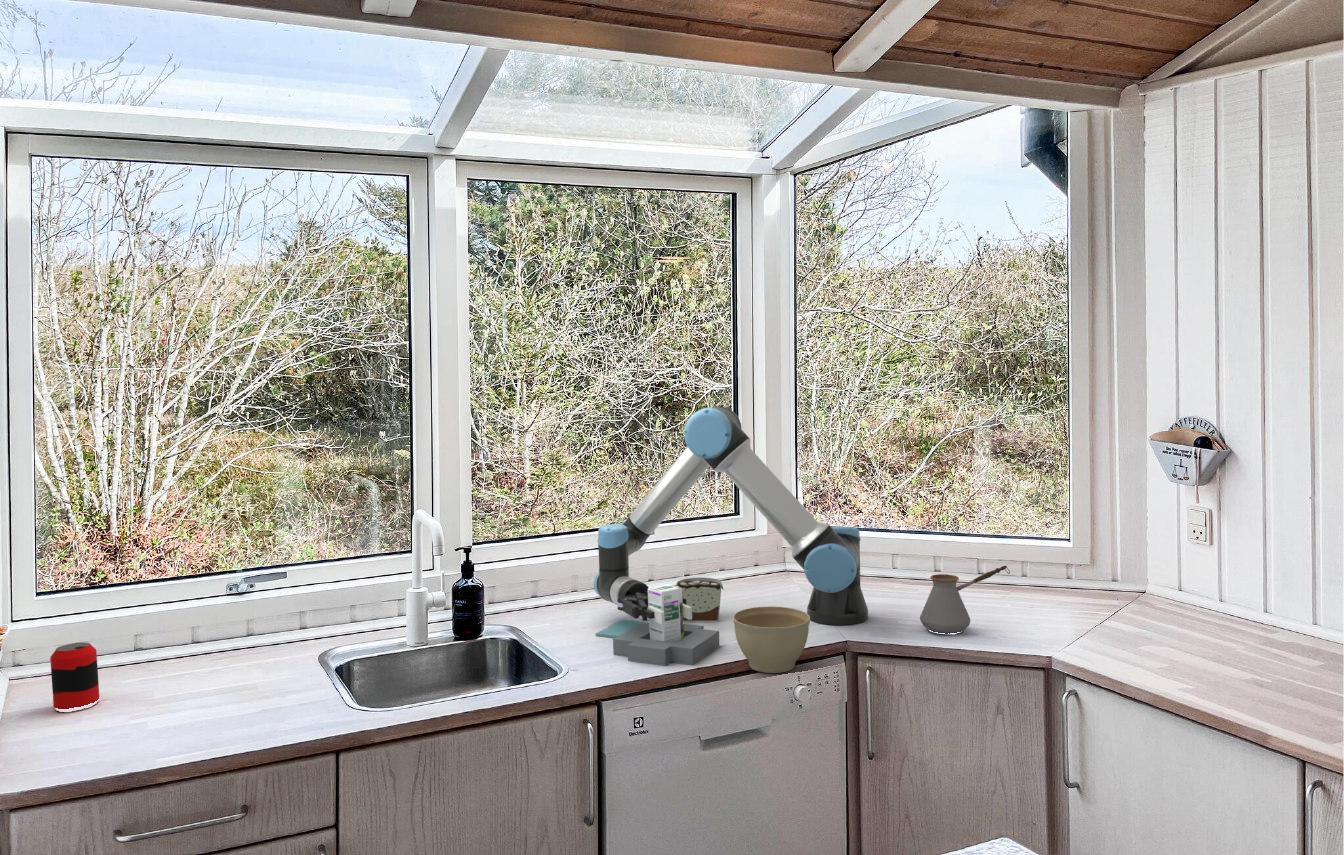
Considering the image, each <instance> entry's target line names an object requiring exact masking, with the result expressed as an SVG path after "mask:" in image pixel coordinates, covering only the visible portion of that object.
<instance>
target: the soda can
mask: <svg viewBox="0 0 1344 855" xmlns="http://www.w3.org/2000/svg"><path fill="white" fill-rule="evenodd" d="M97 653H98V652H97V649H96V648H95V647H94V646H93V645H92V644H91V643H90V642H87V641H86V642H83V641H82V642H74V643H68V644H64V645H63V644H62V645H61V646H58V647H56V648H55V650H54V651H53V652H52V654H51V656H50V657H49V658H50V671H51V673H50V674H51V675H50V676H51V687H52V701H53V702H52V704H53V708H54V707H55V708H58V709H69V708H74V707H81V706H84V705H88V704H90V703H94V702H95V701H97V700H98V699H99V697H100V685H99V684H100V683H99V669H98V654H97Z"/></svg>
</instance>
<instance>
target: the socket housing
mask: <svg viewBox="0 0 1344 855" xmlns="http://www.w3.org/2000/svg"><path fill="white" fill-rule="evenodd" d="M683 626H684V638H683V639H681V640H680V641H678V642H676V643H673V642H664V641H656V640H650V628H649V622H648V623H642V624H640V625H638V626H636V627H634V628H633V629H631V630H629V631H627V632H625V633H623V634H622V635H620V636H618V637H616V638H612V645H613V647H612V648H613V655H614V656H621V655H623V656H622V657H627V661H628V662H634V661H635V663H643V664H649V665H656V664H657V666H664V665H666V666H667V665H669V664H670V663H676V664H683V665H689V666H693V665H695V664H696V663H698V662H699V661H700V660H702V659H703V658H704V657H706V656H708V655H709V654H710V653H712V652H713V651H714V650H716V649H718V648H719V647H720V630H715V629H714V630H713V629H705V628H704V625H700V624H693V623H692V624H690V623H683ZM651 663H652V664H651ZM668 663H669V664H668Z"/></svg>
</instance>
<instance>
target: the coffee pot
mask: <svg viewBox="0 0 1344 855" xmlns="http://www.w3.org/2000/svg"><path fill="white" fill-rule="evenodd" d="M1004 570H1005V572H1006V573H1007V574H1011V570H1010V569H1009V568H1008V566H1007V565H1002V566H1000V567H996V568H995V569H994V570H991V571H987V572H985V573H983V574H982V575H979V576H977V577H976V578H974V579H972V580H969V581H968V582H965V583H963V584H961V585H957V582H958V581H959V579H960V577H959V576H957V575H954V574H948V573H947V574H946V573H945V574H943V573H942V574H933V575H931V576H930V579H931V581H932V585H933V586H932V587H931V588H932V589H931V590H930V592H929V594H928V598H927V599H926V602H925V604H924V606H923V609H922V611H921V614H920V616H919V620H920V623H921V624H922V625H923V627H924V628H926V629H927V630H928V629H929V630H931V631H933V632H938V633H945V634H948V633H949V634H950V633H957V632H961V631H962V632H963V631H965V630H967V628H969V626H970V624H971V618H970V614H969V613H968V609H967V608H966V606H965V604H964V601H963V600H962V597H961V595H960V592H959V591H961V590H963V589H965V588H967V587H969V586H971V585H973V584H977V583H979V582H981V581H984V580H987V579H988V578H992V576H994V575H995V574H1000V573H1001V571H1004Z"/></svg>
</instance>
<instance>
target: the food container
mask: <svg viewBox="0 0 1344 855" xmlns="http://www.w3.org/2000/svg"><path fill="white" fill-rule="evenodd" d="M675 585H676V586H679V587H681V588H682V598H685V599H686V602H687V605H688V606H690V607H692V619H691V620H689V619H686V618H684V617H683V623H685V622H686V623H691V622H692V623H697V622H698V623H699V622H701V623H702V622H705V623H709V622H713V623H714V622H715V623H717V622H720V608H721V598H722V597H721V596H722V591H724V590H725V589H724V586H723V583H722V581H721V580H720V579H718V578H713V577H705V576H704V577H688V578H683V579H679V580H677V582H676V584H675Z"/></svg>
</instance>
